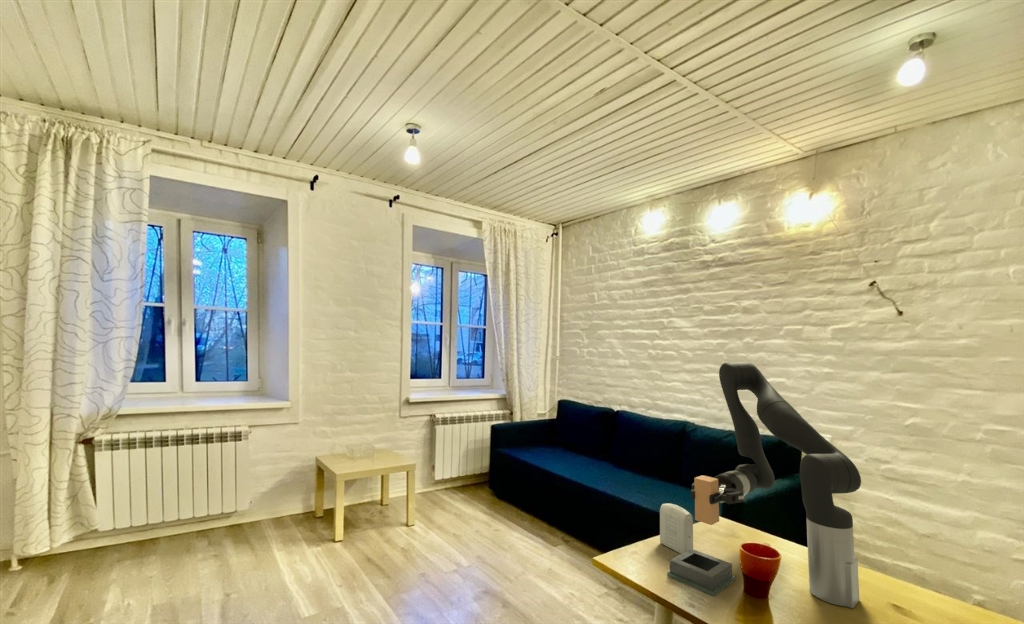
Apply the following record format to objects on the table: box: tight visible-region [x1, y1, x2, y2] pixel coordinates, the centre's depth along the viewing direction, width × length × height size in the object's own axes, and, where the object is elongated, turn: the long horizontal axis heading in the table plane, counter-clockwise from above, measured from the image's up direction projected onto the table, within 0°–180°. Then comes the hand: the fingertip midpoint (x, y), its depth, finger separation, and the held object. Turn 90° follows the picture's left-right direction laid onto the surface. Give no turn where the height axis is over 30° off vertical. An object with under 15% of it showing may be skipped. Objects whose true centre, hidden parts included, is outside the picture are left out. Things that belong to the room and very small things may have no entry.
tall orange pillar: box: [693, 475, 720, 526], centre depth 118 cm, size 4×4×11 cm
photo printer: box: [659, 502, 694, 554], centre depth 130 cm, size 10×4×12 cm, turn 28°
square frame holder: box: [666, 548, 736, 597], centre depth 112 cm, size 12×12×4 cm
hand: (701, 497), depth 116 cm, fingers closed on tall orange pillar, 4 cm apart
